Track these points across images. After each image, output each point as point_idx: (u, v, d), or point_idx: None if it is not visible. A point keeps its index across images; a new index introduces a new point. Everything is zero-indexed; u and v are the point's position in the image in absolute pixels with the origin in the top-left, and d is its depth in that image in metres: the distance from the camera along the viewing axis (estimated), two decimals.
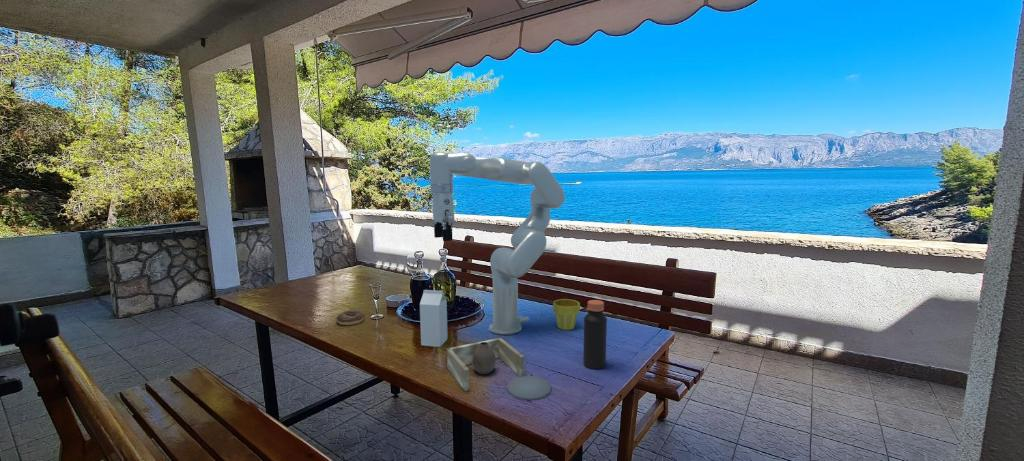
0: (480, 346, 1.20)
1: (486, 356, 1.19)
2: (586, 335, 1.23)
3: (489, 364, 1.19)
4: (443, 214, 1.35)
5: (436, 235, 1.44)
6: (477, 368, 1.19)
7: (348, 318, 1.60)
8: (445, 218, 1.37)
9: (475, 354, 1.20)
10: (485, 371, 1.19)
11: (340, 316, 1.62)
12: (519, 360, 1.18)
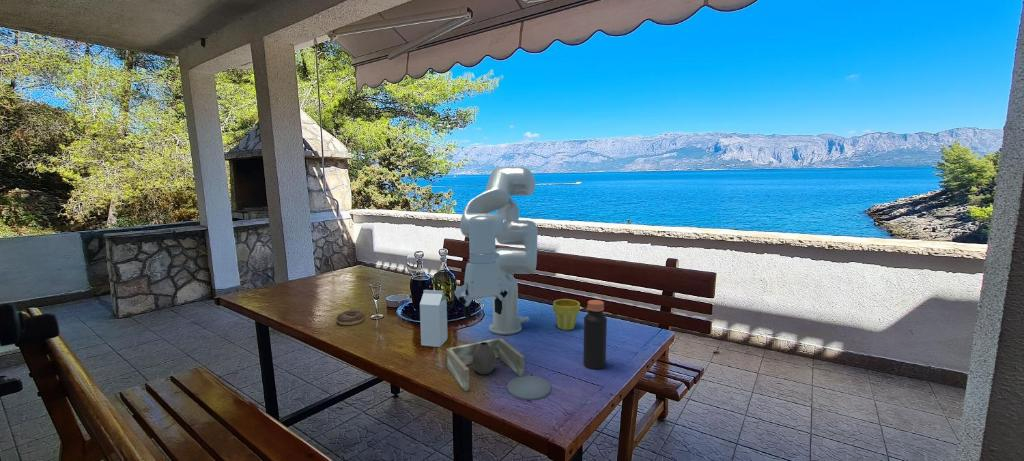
0: (480, 346, 1.20)
1: (486, 356, 1.19)
2: (586, 335, 1.23)
3: (489, 364, 1.19)
4: None
5: None
6: (477, 368, 1.19)
7: (348, 318, 1.60)
8: None
9: (475, 354, 1.20)
10: (485, 371, 1.19)
11: (340, 316, 1.62)
12: (519, 360, 1.18)
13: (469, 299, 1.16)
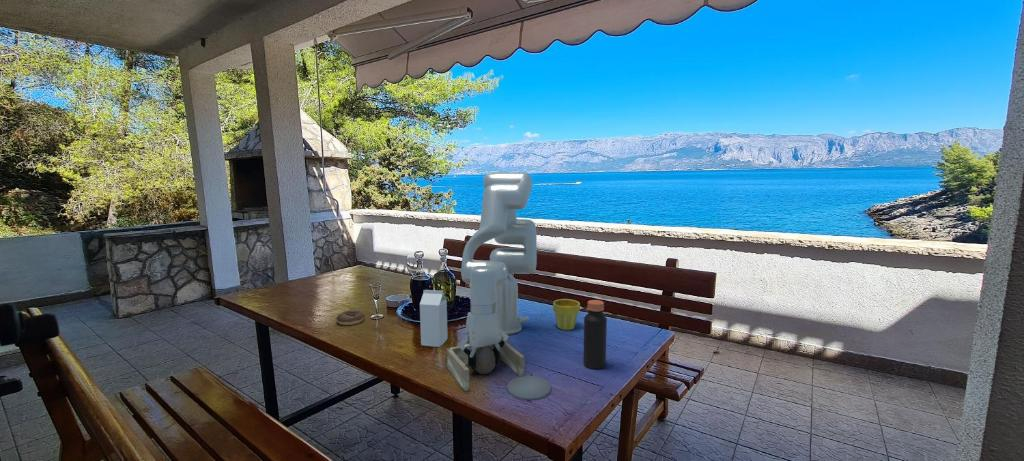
0: None
1: (486, 356, 1.18)
2: (586, 335, 1.23)
3: (489, 364, 1.19)
4: None
5: None
6: (477, 368, 1.19)
7: (348, 318, 1.60)
8: None
9: (475, 354, 1.20)
10: (485, 371, 1.19)
11: (340, 316, 1.62)
12: (519, 360, 1.18)
13: (473, 350, 1.18)
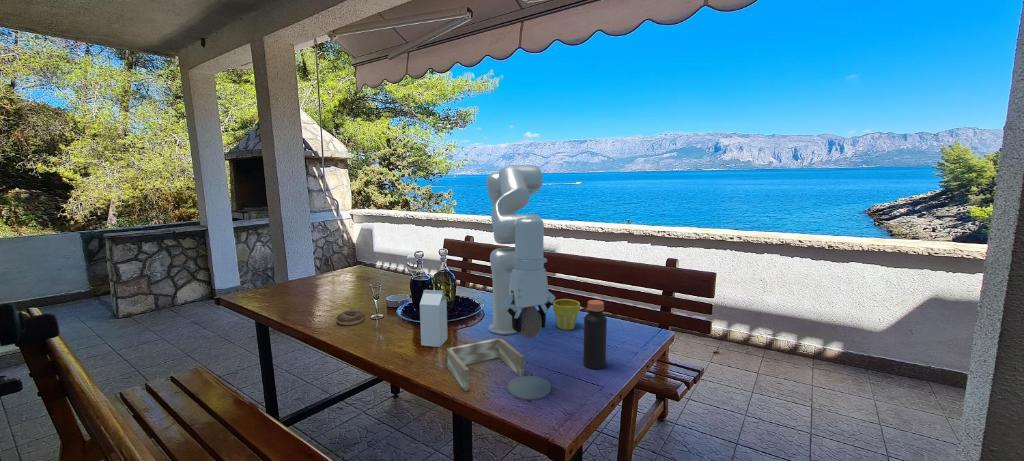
0: None
1: (533, 317, 1.07)
2: (586, 335, 1.23)
3: (536, 327, 1.07)
4: None
5: None
6: (522, 331, 1.07)
7: (348, 318, 1.60)
8: None
9: (520, 315, 1.08)
10: (531, 334, 1.07)
11: (340, 316, 1.62)
12: (519, 360, 1.18)
13: (518, 310, 1.06)
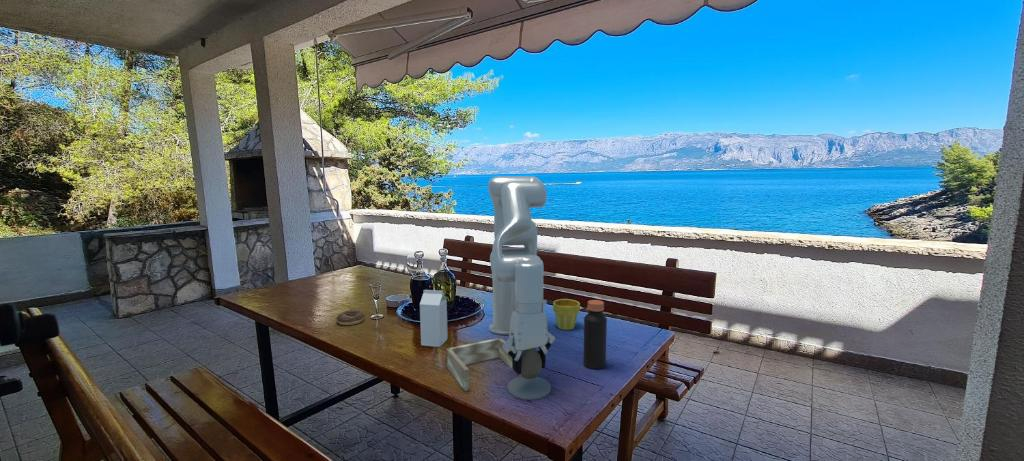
0: None
1: (533, 359, 1.08)
2: (586, 335, 1.23)
3: (536, 368, 1.08)
4: None
5: None
6: (522, 373, 1.08)
7: (348, 318, 1.60)
8: None
9: (520, 357, 1.09)
10: (531, 376, 1.08)
11: (340, 316, 1.62)
12: None
13: (518, 353, 1.07)
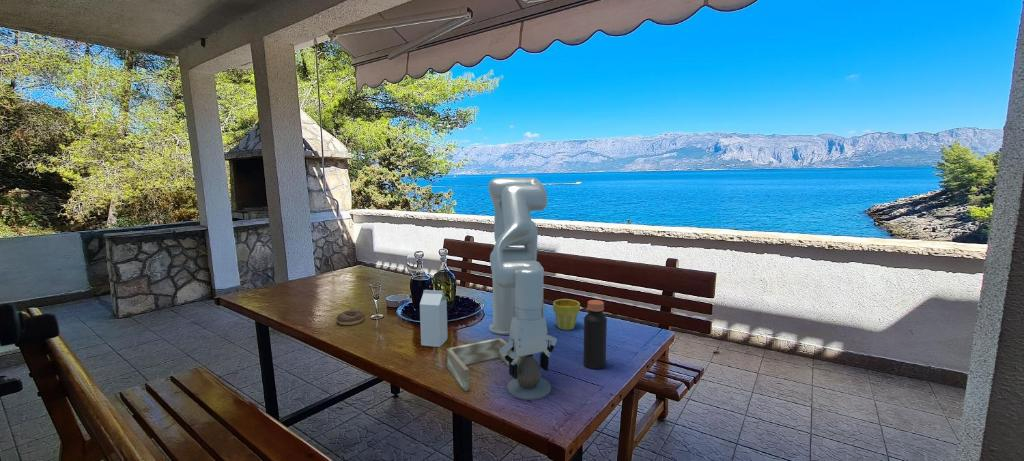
0: (525, 358, 1.10)
1: (533, 369, 1.09)
2: (586, 335, 1.23)
3: (536, 378, 1.09)
4: None
5: None
6: (522, 382, 1.09)
7: (348, 318, 1.60)
8: None
9: (520, 367, 1.10)
10: (531, 385, 1.09)
11: (340, 316, 1.62)
12: (519, 360, 1.18)
13: (516, 357, 1.07)
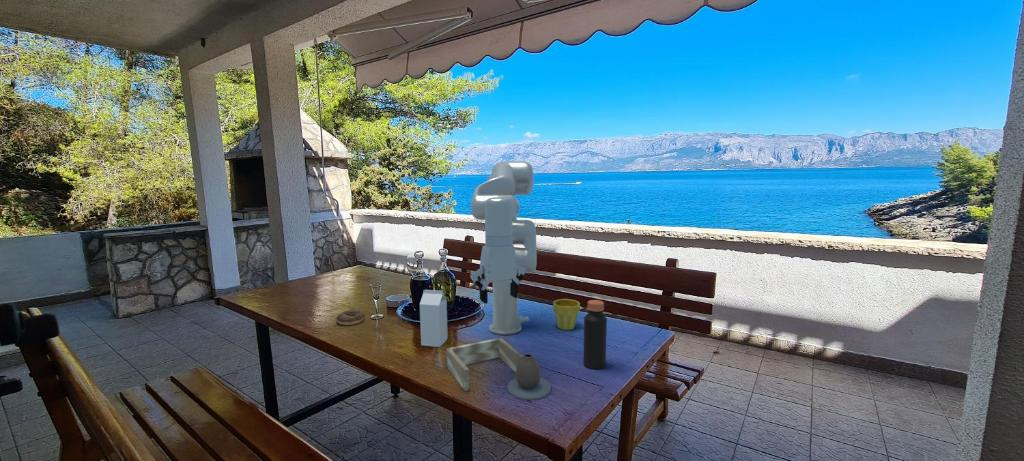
0: (525, 359, 1.10)
1: (532, 369, 1.09)
2: (586, 335, 1.23)
3: (536, 378, 1.09)
4: None
5: None
6: (522, 383, 1.09)
7: (348, 318, 1.60)
8: None
9: (520, 367, 1.10)
10: (531, 386, 1.09)
11: (340, 316, 1.62)
12: (519, 360, 1.18)
13: (486, 283, 1.13)
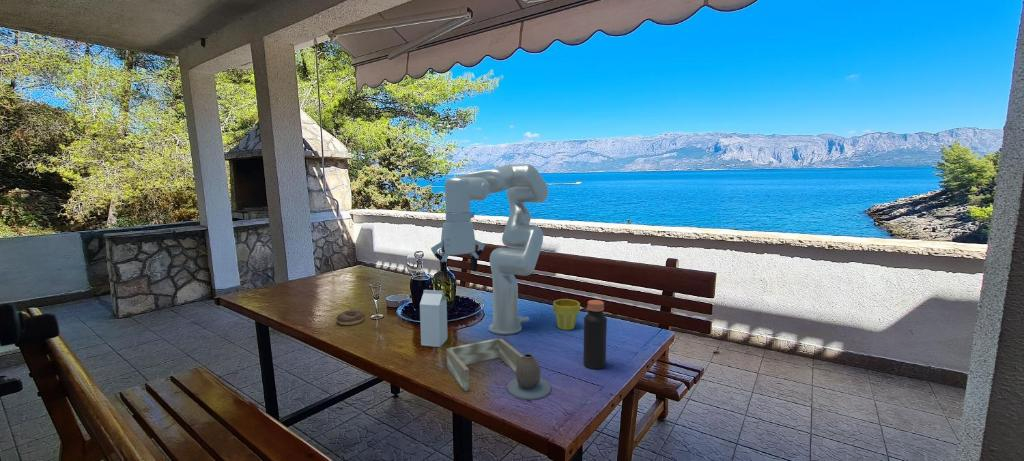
0: (525, 359, 1.10)
1: (532, 369, 1.09)
2: (586, 335, 1.23)
3: (536, 378, 1.09)
4: None
5: None
6: (522, 383, 1.09)
7: (348, 318, 1.60)
8: None
9: (520, 367, 1.10)
10: (531, 386, 1.09)
11: (340, 316, 1.62)
12: (519, 360, 1.18)
13: (445, 255, 1.24)
